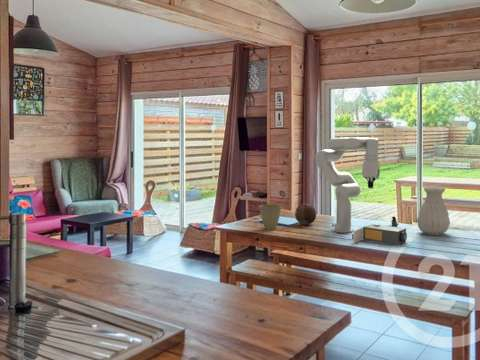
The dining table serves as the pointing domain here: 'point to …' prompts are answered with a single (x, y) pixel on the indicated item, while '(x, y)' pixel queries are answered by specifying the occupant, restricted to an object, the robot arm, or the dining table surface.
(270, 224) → the plant pot
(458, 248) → the dining table surface
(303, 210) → the wooden sphere
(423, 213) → the vase
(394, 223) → the binoculars
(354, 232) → the side door
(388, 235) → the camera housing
